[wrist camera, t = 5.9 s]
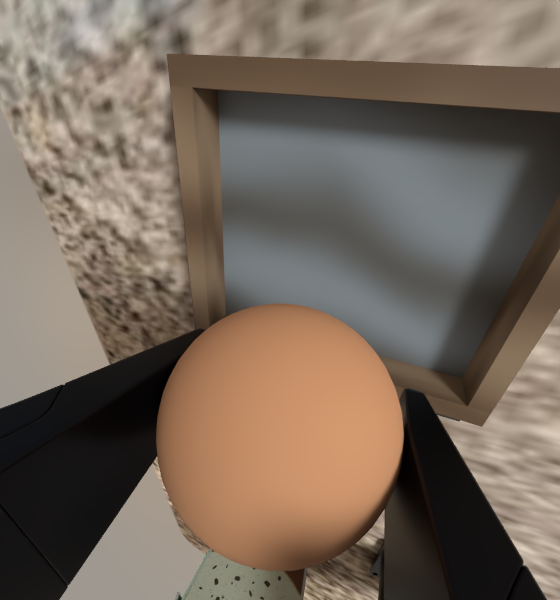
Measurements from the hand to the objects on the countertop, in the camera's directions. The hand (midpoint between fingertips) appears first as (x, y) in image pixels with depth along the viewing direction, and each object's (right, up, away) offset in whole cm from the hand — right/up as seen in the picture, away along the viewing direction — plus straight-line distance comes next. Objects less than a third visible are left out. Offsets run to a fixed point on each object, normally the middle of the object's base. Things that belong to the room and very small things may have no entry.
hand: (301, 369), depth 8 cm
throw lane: (+3, -1, +11) cm, 12 cm away
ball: (-1, -1, -1) cm, 2 cm away
